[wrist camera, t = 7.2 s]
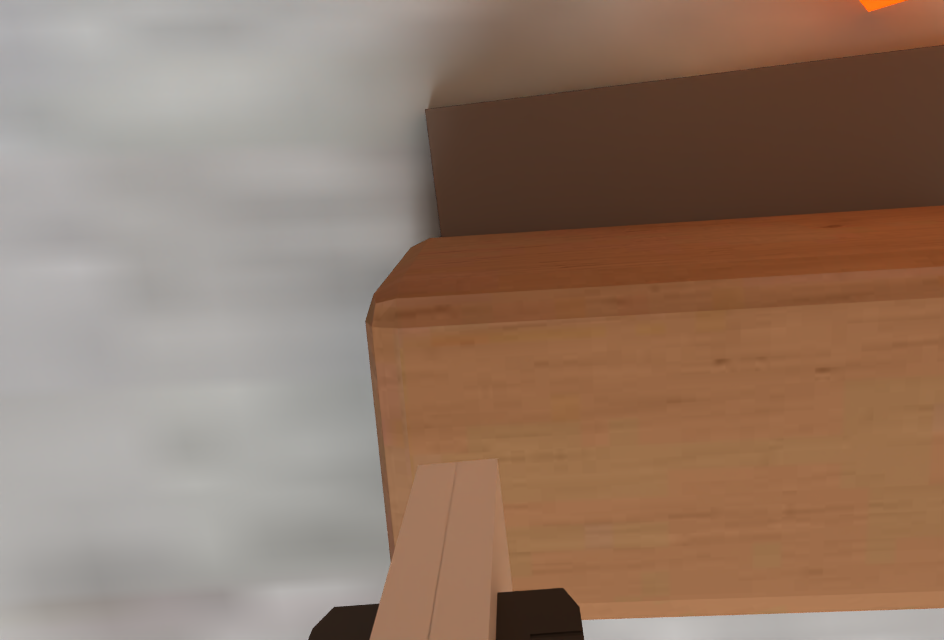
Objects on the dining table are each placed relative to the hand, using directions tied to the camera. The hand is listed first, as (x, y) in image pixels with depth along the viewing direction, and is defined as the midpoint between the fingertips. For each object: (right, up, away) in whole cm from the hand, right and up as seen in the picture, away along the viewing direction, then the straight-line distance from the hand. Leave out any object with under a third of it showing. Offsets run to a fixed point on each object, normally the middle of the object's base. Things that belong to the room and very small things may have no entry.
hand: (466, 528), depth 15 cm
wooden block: (-2, +1, +11) cm, 11 cm away
